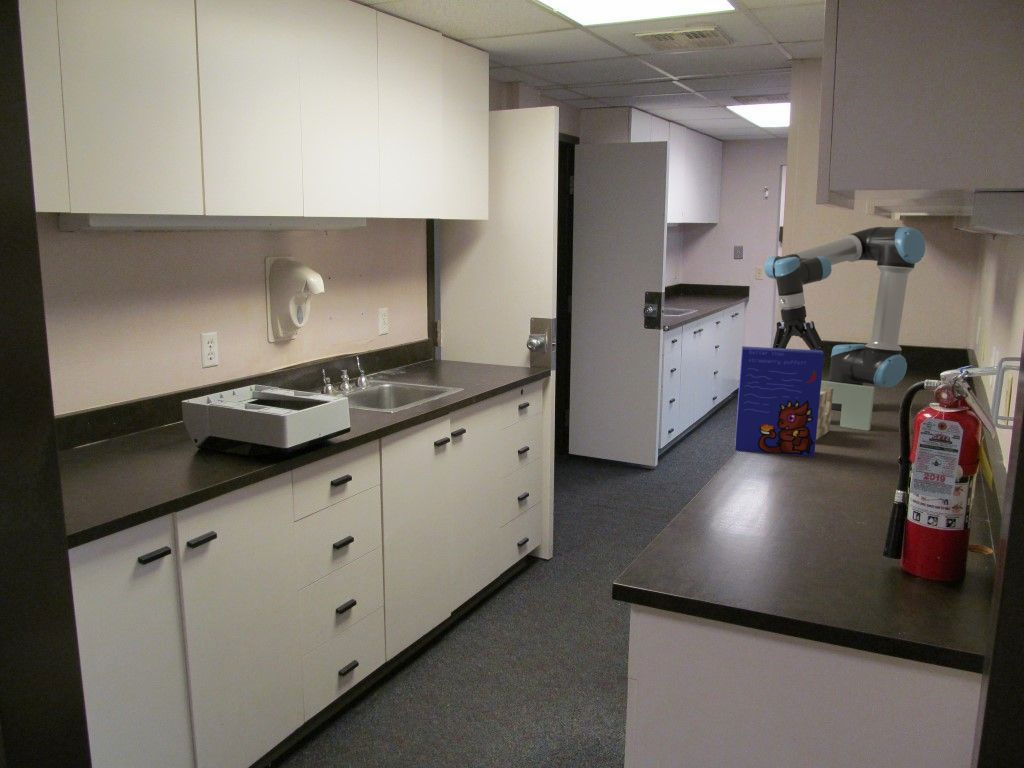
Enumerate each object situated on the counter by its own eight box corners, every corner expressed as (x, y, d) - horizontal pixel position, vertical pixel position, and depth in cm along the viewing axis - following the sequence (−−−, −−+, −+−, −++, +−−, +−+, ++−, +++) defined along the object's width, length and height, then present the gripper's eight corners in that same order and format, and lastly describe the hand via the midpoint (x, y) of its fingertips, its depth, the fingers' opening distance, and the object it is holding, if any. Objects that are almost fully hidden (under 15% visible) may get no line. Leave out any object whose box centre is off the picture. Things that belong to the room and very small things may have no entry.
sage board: (799, 420, 277) (803, 379, 275) (801, 418, 279) (805, 378, 277) (868, 430, 265) (872, 388, 262) (870, 429, 267) (874, 387, 264)
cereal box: (811, 451, 239) (821, 349, 233) (814, 456, 233) (823, 352, 228) (734, 445, 244) (742, 345, 238) (735, 450, 238) (742, 348, 233)
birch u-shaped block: (821, 429, 265) (825, 387, 262) (829, 430, 263) (833, 388, 261) (802, 442, 249) (806, 397, 246) (810, 443, 248) (814, 398, 245)
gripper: (756, 309, 270) (765, 371, 273) (813, 309, 247) (822, 377, 251) (773, 304, 273) (782, 366, 276) (831, 304, 250) (840, 371, 254)
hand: (801, 371), depth 264 cm, fingers open, 13 cm apart
